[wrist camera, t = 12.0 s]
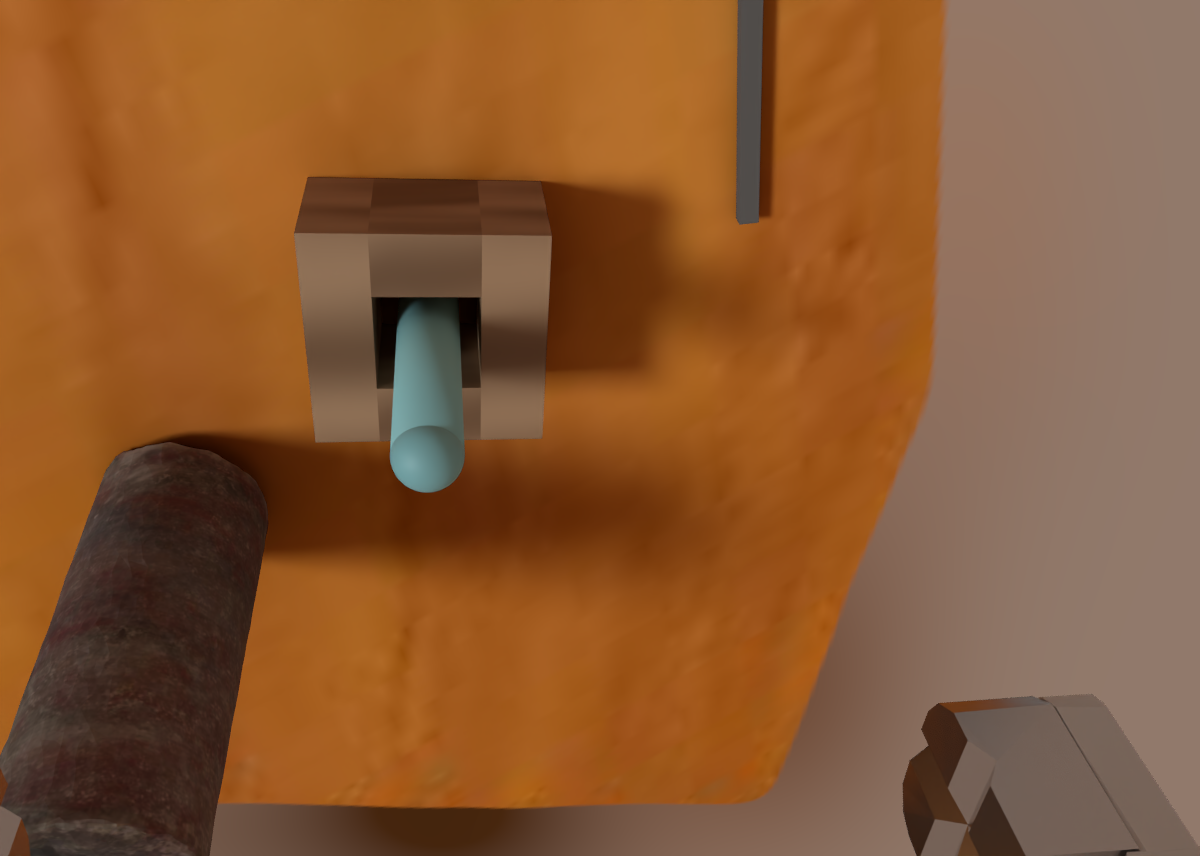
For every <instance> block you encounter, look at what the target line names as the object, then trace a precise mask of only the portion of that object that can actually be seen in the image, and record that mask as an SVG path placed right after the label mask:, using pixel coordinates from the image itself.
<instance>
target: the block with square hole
mask: <svg viewBox="0 0 1200 856" xmlns="http://www.w3.org/2000/svg"><path fill="white" fill-rule="evenodd" d="M294 237H295V247H296V257H297V266H298V276H299V286H300V296H301V305H302V315H303V325H304V335H305V344H306V354H307V364H308V374H309V384H310V393H311V403H312V413H313V423H314V432H315V442H370V441H391V427H392V408H393V390H394V372H395V354H396V335H397V324H382V318H381V300H380V297H477V324H460V349H461V374H462V399H463V424H464V440H487V439H542V433H543V412H544V391H545V371H546V350H547V329H548V309H549V288H550V267H551V246H552V233H551V228H550V224H549V219H548V214H547V209H546V204H545V199H544V195H543V190H542V185H541V181H493V180H436V179H379V178H322V177H308V178H307V182H306V187H305V191H304V195H303V199H302V203H301V207H300V211H299V215H298V219H297V223H296V227H295V232H294Z"/></svg>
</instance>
